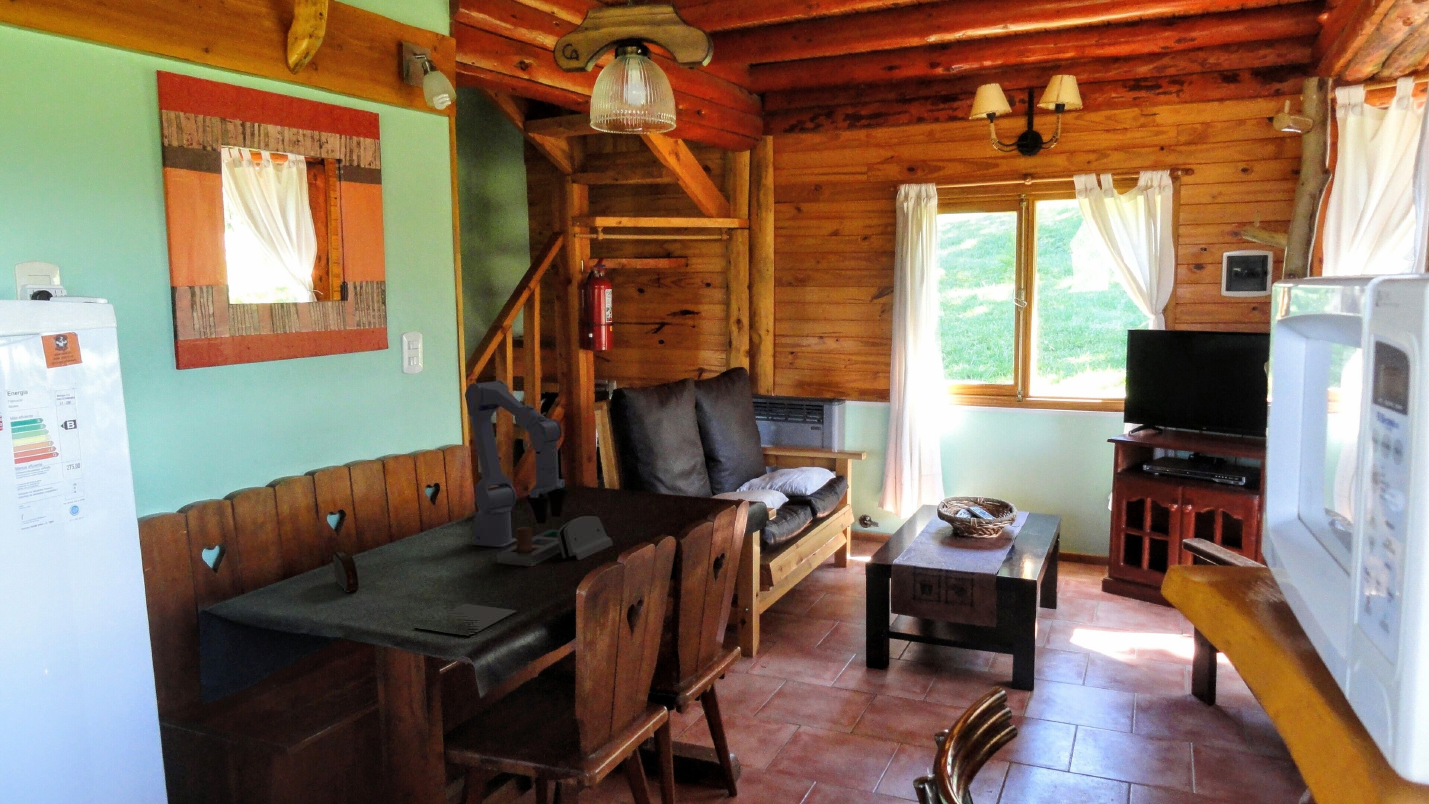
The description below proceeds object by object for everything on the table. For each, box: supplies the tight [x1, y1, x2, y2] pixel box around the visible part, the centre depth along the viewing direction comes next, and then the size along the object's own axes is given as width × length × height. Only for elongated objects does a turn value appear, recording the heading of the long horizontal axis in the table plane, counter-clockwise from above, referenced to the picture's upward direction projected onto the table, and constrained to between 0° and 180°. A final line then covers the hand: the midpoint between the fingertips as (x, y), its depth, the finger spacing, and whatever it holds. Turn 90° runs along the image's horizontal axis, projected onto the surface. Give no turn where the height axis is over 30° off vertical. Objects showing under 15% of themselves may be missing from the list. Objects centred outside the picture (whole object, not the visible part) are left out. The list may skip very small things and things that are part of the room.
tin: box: [331, 548, 359, 592], centre depth 230 cm, size 15×3×8 cm, turn 32°
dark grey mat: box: [445, 603, 517, 635], centre depth 210 cm, size 23×25×1 cm
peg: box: [515, 526, 533, 554], centre depth 250 cm, size 4×4×8 cm
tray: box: [496, 528, 561, 567], centre depth 258 cm, size 10×26×2 cm, turn 159°
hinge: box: [557, 515, 614, 561], centre depth 257 cm, size 17×5×10 cm, turn 153°
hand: (548, 519), depth 252 cm, fingers open, 7 cm apart
